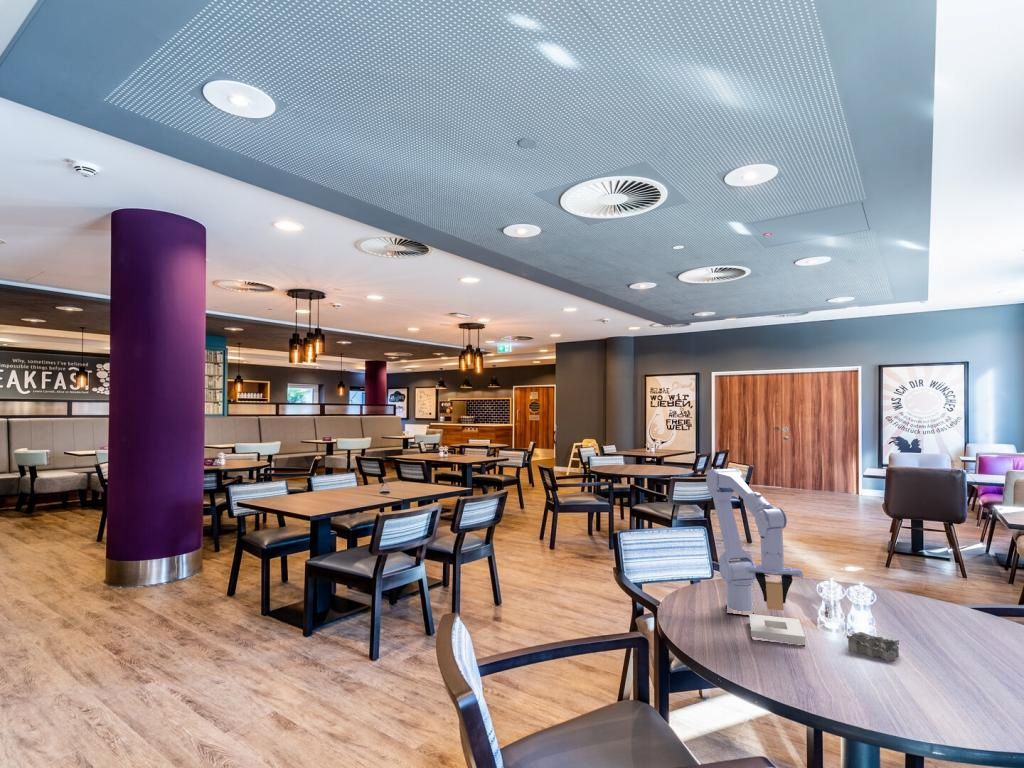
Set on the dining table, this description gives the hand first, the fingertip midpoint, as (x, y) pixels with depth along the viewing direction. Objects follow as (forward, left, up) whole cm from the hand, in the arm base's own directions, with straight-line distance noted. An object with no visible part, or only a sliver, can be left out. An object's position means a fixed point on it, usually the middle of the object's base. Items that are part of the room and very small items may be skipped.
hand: (774, 601), depth 153 cm
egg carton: (+5, +22, -9) cm, 25 cm away
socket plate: (0, 0, -9) cm, 9 cm away
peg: (0, 0, -2) cm, 2 cm away
